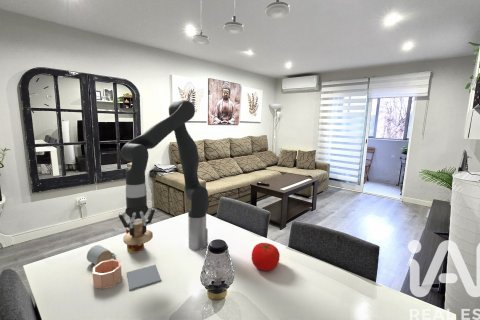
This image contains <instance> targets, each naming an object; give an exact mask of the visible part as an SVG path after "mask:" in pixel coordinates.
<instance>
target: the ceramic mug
mask: <svg viewBox="0 0 480 320" xmlns="http://www.w3.org/2000/svg"><path fill="white" fill-rule="evenodd" d="M116 255H117V254H116V253H114V252H111V250H110V249H108V248H105V247H104V246H102V245H99V244H96V245H94V246H92V247H91V248H90V249H89V250H88V251H87V254H86V260H87V261H88V262H90V263H92V264H93V265H95V266H96V265H97V264H99V263H100V262H102V261H107V260H111V259H114V260H115V257H116Z"/></svg>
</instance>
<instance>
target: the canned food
mask: <svg viewBox="0 0 480 320" xmlns="http://www.w3.org/2000/svg"><path fill="white" fill-rule="evenodd" d="M127 233H129V228H125V235H126V234H127ZM144 248H145V243H144V244H140V245H127V244H126V249H127V250H126V251H127V252H128V253H132V254H133V253H139V252H141V251H143V250H144Z"/></svg>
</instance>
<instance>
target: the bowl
mask: <svg viewBox="0 0 480 320" xmlns="http://www.w3.org/2000/svg"><path fill="white" fill-rule="evenodd" d="M122 279H123V276H122V263H121V260H118V259H115V258H114V259H111V260H107V261H102V262H100V263H99V264H97V265H96V264H95V265H93V267H92V281H93V282H92V283H93V285H92V286H93V288H97V289H101V290H103V289H107V288H111V287H114V286H116V285H117V284H118V283H119V282H120V281H122Z"/></svg>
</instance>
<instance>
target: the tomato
mask: <svg viewBox="0 0 480 320" xmlns="http://www.w3.org/2000/svg"><path fill="white" fill-rule="evenodd" d="M280 255H281V254H280V251H279V250H278V248H277V247H276V246H275V245H274V244H271V243H269V242H259V243H257V244H255V246H254V247H253V248H252V251H251V263H252V264H253V265H254V267H255V268H257V269H258V270H260V271H263V272H265V271H266V272H268V271H273V270H274V269H276V268H277V267H278V264H279V262H280Z"/></svg>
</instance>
